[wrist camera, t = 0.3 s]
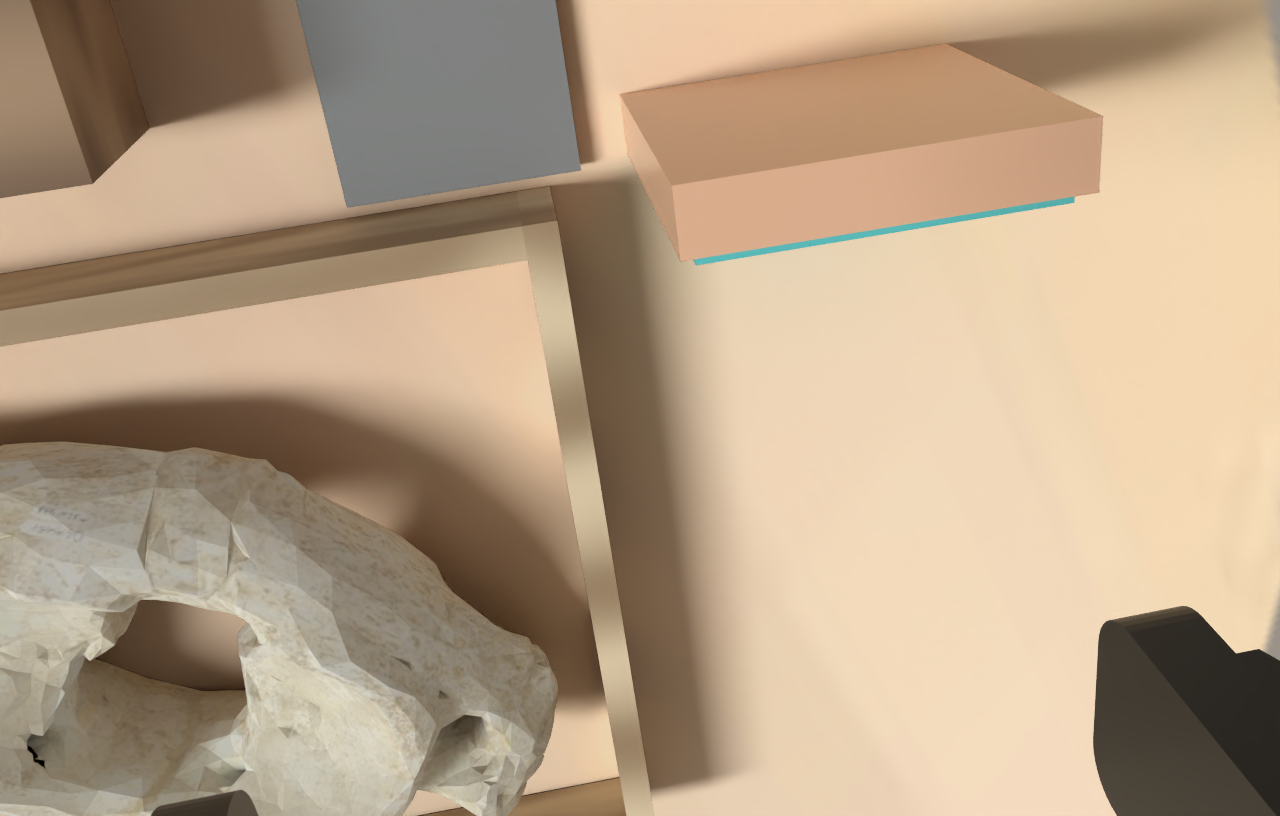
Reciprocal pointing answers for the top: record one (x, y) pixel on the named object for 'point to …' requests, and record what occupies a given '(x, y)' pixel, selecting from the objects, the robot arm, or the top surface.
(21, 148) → the brown rectangular block
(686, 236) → the tile
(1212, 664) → the robot arm
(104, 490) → the sculpture
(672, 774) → the top surface
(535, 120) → the mat
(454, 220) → the wooden tray
